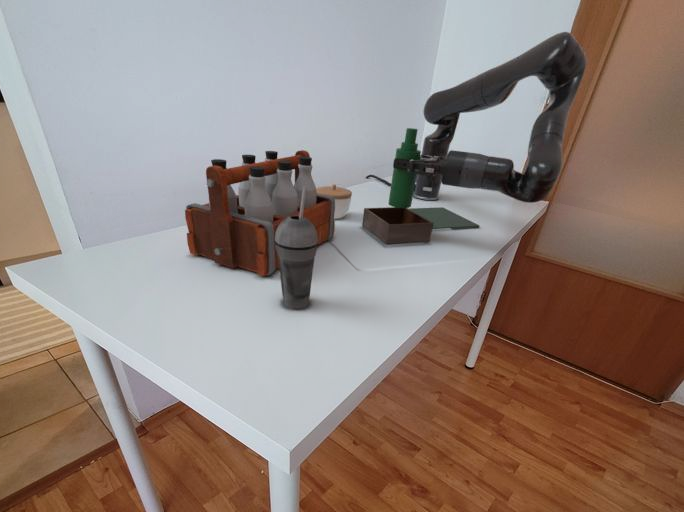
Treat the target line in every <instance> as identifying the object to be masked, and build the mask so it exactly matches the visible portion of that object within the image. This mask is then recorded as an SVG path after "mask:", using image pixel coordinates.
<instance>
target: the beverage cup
mask: <svg viewBox="0 0 684 512" xmlns="http://www.w3.org/2000/svg"><path fill="white" fill-rule="evenodd" d="M305 195H306V187H303V192H302V200H301V208H300V215H299V216H297V215H294V216H290V217H287V218H286V219H284V220H283V221H282V222H281V223H280V225H279V226H278V228H277V231H276V235H275V240H274V242H275V244H276V250H277V254H278V259H279V268H278V269H279V277H280V285H281V294H282V295H281V296H282V299H283V305H284V306H285V308H288V309H291V310H303V309H305V308H307V307H308V306H309V300H310V296H311V290H312V289H311V288H312V280H313V274H314V273H313V272H314V266H315V265H314V264H315V257H316V254H317V250H318V246H319V245H318V237H317V232H316V230H315V228H314V226H313V224H312V223H311V222H310V221H309V220H308V219H306V218H305V217H303V210H304V203H305Z"/></svg>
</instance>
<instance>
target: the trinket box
mask: <svg viewBox="0 0 684 512" xmlns="http://www.w3.org/2000/svg"><path fill="white" fill-rule="evenodd" d="M316 191H317V194H321V195H326V196H331V197H333V198H334V199H335V212H334V219H335V220H340V219H342V218H344V217H345V216H346V215H347V213H348V212H349V210H350V206H351V201H352V196H353V192H352V190H350V189H348V188H345V187H341V186H337V184H332V185H331V186H320V187H319V186H318V187H316Z"/></svg>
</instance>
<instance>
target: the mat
mask: <svg viewBox="0 0 684 512" xmlns="http://www.w3.org/2000/svg"><path fill="white" fill-rule="evenodd" d="M409 209H410V210H411V211H413V212H415V213H417V214H418V215H420V216H422V217H424V218H425V219H427V220H429V221H431V222H432V223H434V224H433V228H432V230H440V229H441V230H443V229H450V230H466V229H467V230H469V229H479V228H480V224H477V223H475V222H474V221H472V220H469V219H467V218H466V217H464V216H462V215H459V214H457V213H455V212H453V211H451V210H449V209H447V208H446V207H444V206H443V207H442V206H441V207H415V208H413V207H409Z"/></svg>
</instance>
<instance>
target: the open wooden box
mask: <svg viewBox="0 0 684 512" xmlns="http://www.w3.org/2000/svg"><path fill="white" fill-rule="evenodd" d="M433 224H434V223H432V222H431V221H429V220H427V219H425V218H424V217H422V216H420V215H418V214H417V213H415V212H413V211H411V210H410V208H397V207H393V206H390V207H389V206H388V207H364V208H363V215H362V223H361V227H362V228H363V229H365V230H366V231H367V232H369V233H370V234H371V235H373V236H374V237H375V238H376V239H377V240H379V241H380V242H381V243H382V244H384V245H385V246H394V245H405V244H407V245H408V244H421V243H430V240H431V237H432V232H433V229H432V228H433Z"/></svg>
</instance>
